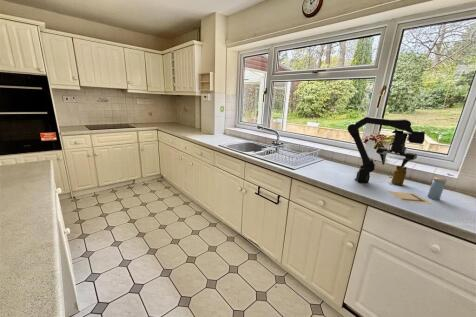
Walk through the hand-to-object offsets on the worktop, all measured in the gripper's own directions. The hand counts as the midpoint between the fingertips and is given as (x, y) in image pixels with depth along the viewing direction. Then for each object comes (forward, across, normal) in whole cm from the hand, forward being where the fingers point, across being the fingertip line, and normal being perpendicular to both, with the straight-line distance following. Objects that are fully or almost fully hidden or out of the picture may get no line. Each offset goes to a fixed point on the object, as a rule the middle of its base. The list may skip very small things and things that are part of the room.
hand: (391, 166), depth 124 cm
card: (+13, -13, +7) cm, 20 cm away
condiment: (+13, -2, -12) cm, 18 cm away
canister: (+13, -21, -5) cm, 25 cm away
